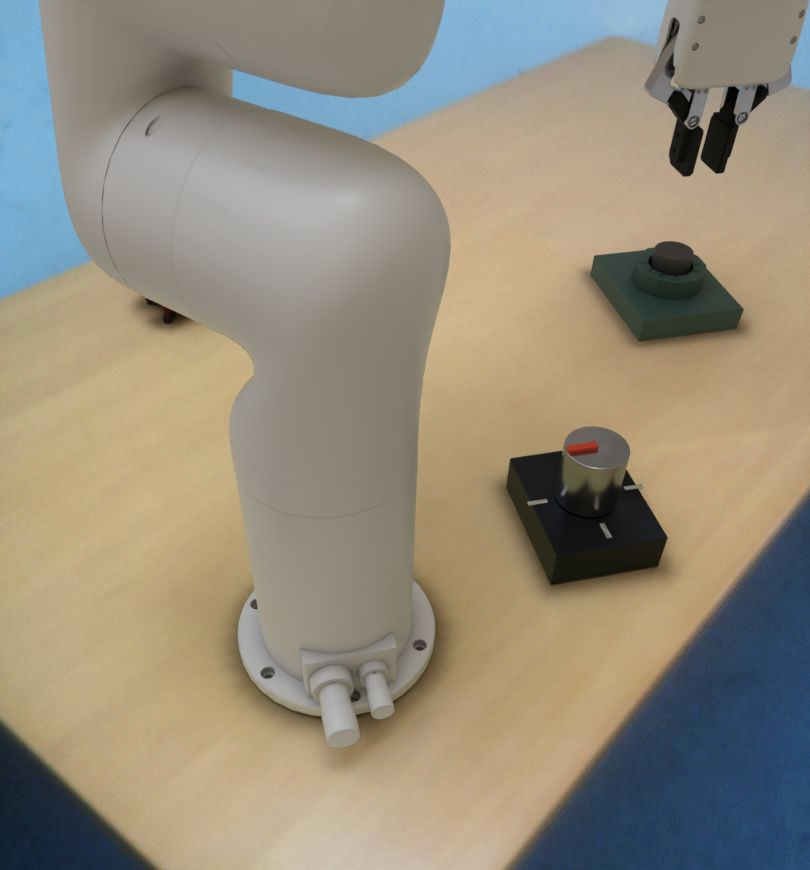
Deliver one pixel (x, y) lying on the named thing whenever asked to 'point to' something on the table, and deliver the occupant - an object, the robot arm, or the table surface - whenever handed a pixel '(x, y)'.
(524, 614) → the table surface
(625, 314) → the housing
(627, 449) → the knob
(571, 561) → the panel
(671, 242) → the button
